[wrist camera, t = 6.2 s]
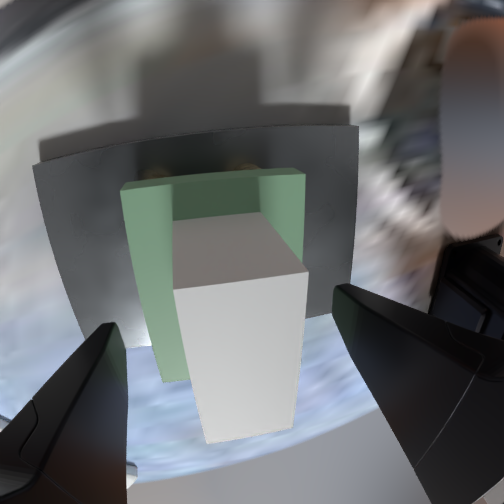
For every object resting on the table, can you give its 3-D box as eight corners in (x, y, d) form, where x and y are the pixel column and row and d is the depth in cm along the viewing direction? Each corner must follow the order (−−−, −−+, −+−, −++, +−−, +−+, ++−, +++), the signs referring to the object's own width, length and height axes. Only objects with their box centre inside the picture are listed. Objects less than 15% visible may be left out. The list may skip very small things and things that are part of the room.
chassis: (349, 124, 13) (394, 132, 10) (340, 300, 17) (370, 338, 14) (40, 162, 10) (2, 180, 7) (93, 341, 14) (82, 389, 11)
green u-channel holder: (293, 167, 10) (375, 213, 6) (286, 345, 13) (330, 433, 9) (125, 182, 9) (86, 244, 5) (162, 364, 12) (167, 463, 8)
